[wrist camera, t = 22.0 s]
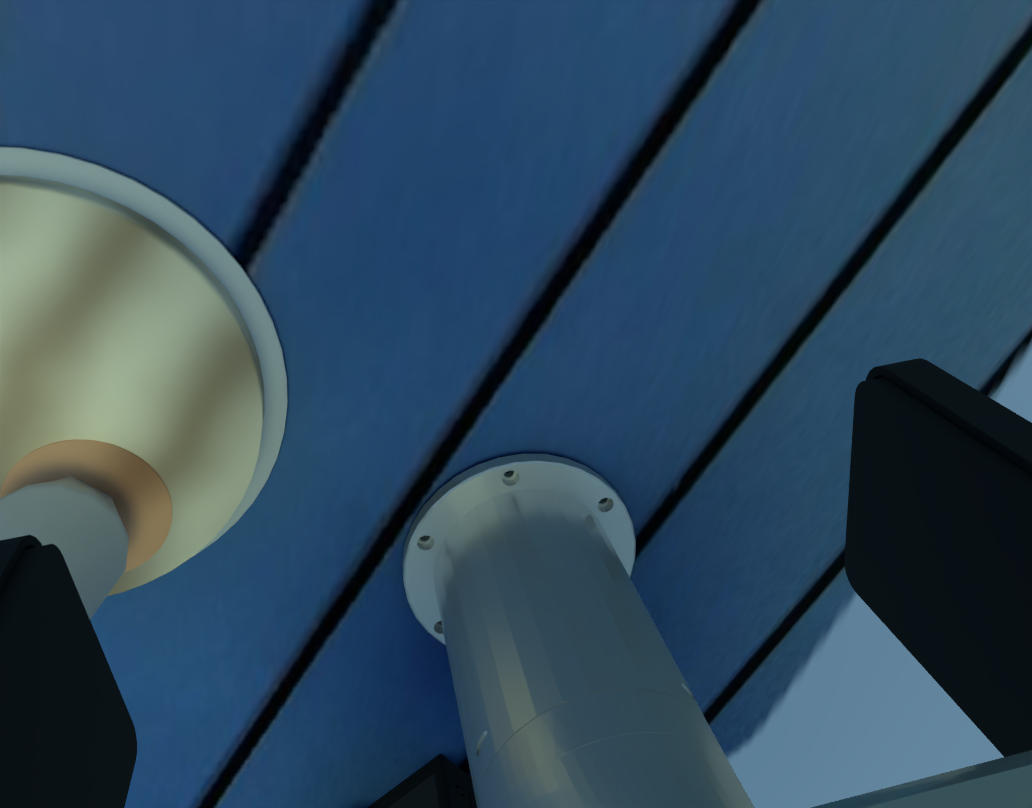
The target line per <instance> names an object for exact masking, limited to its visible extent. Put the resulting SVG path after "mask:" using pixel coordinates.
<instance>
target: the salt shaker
mask: <svg viewBox="0 0 1032 808" xmlns="http://www.w3.org/2000/svg"><path fill="white" fill-rule="evenodd" d="M25 535H32V536H34V537H36V538H37V539H38V540H39V541H40V542H41V544H42V546H43V545H48V544H54V545H56V546H57V547H58V548H59V549H60V551H61V553H62V555H63V557H64V559H65V562H66V564H67V566H68V569H69V571H70V574H71V576H72V578H73V581H74V583H75V586H76V588H77V590H78V593H79V595H80V598H81V600H82V602H83V605H84V607H85V610H86V612H87V614H88V617H89V619H91V618H92V616H93V615H94V613H95V612H96V611H97V609H98V608H99V606H100V605H101V604H102V602H103V601H104V599H105V598H106V597H107V595H108V594H109V592H110V591H111V590H112V588H113V587H114V586H115V584H116V583H117V581H118V580H119V579H120V577H121V576H122V574H123V573H124V572H125V570H126V562H127V552H128V542H129V536H128V534H127V531H126V529H125V527H124V525H123V523H122V520H121V518H120V516H119V514H118V512H117V509H116V507H115V504H114V502H113V500H112V497H111V496H109V495H107V494H105V493H103V492H102V491H100V490H98V489H96V488H94V487H92V486H90V485H88V484H86V483H84V482H82V481H81V480H79V479H77V478H75V477H73V476H70V477H66V478H62V479H58V480H54V481H50V482H44V483H38V484H31V485H27V486H25V487H23V488H21V489H19V490H16V491H14V492H12V493H10V494H8V495H6V496H4V497H2V498H0V540H5V539H10V538H15V537H20V536H25Z"/></svg>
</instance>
